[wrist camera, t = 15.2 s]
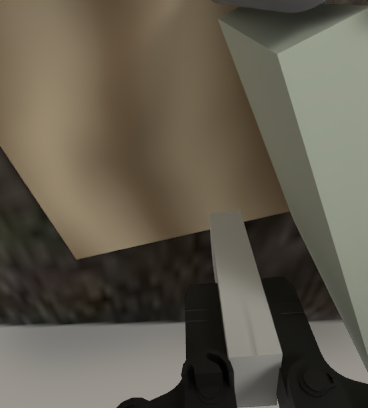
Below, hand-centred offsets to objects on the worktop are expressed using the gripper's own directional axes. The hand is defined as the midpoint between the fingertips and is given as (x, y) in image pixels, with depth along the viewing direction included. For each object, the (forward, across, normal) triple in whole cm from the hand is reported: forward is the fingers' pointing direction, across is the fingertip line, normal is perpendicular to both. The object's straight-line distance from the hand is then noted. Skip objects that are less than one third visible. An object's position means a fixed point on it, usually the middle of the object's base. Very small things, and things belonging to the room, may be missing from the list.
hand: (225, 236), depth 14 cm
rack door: (+3, +3, +5) cm, 6 cm away
